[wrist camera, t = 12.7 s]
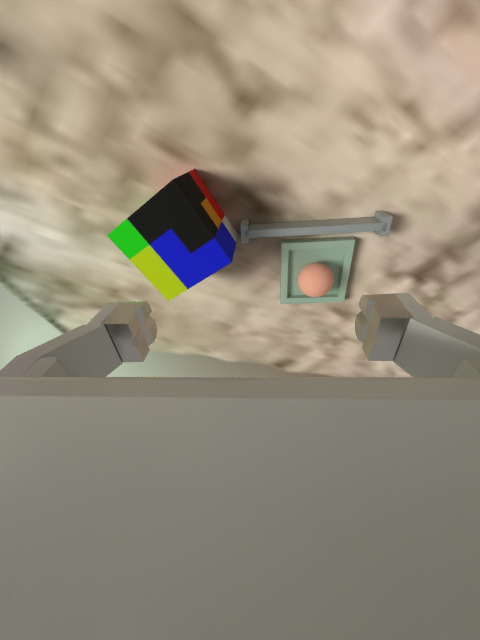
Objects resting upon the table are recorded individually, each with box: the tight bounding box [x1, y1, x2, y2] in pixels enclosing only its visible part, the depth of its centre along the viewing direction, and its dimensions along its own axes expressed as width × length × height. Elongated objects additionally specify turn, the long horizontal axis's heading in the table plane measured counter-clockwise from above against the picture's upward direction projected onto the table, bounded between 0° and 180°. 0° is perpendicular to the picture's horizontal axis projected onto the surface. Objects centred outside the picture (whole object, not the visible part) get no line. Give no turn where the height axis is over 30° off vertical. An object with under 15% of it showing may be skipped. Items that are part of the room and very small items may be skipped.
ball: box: [298, 262, 334, 297], centre depth 37 cm, size 5×5×5 cm
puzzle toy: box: [107, 169, 238, 301], centre depth 33 cm, size 10×10×10 cm
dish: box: [280, 236, 355, 304], centre depth 39 cm, size 10×10×2 cm
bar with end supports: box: [240, 211, 393, 244], centre depth 35 cm, size 2×19×3 cm, turn 94°
